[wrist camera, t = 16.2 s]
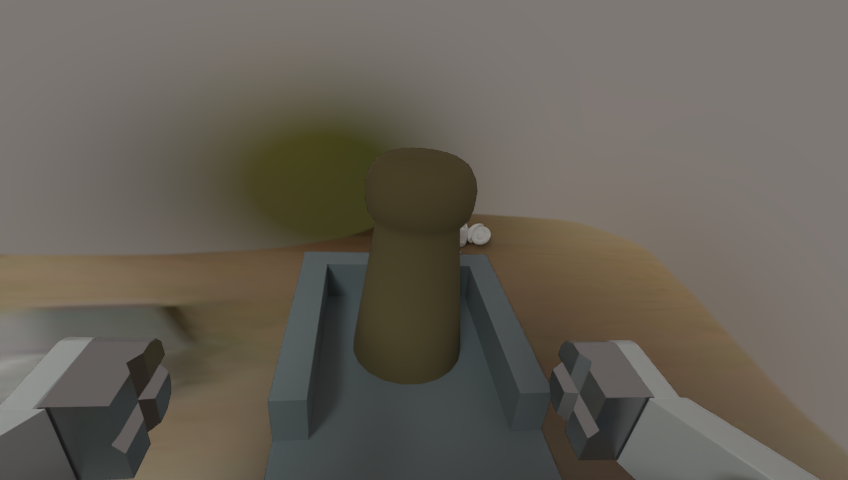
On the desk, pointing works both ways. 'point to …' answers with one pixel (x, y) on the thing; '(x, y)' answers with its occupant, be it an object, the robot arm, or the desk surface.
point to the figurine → (474, 234)
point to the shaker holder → (405, 391)
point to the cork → (413, 265)
